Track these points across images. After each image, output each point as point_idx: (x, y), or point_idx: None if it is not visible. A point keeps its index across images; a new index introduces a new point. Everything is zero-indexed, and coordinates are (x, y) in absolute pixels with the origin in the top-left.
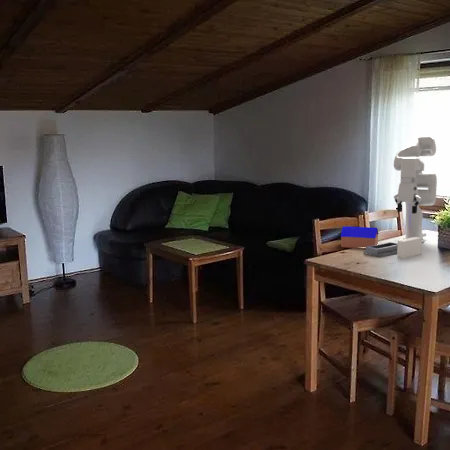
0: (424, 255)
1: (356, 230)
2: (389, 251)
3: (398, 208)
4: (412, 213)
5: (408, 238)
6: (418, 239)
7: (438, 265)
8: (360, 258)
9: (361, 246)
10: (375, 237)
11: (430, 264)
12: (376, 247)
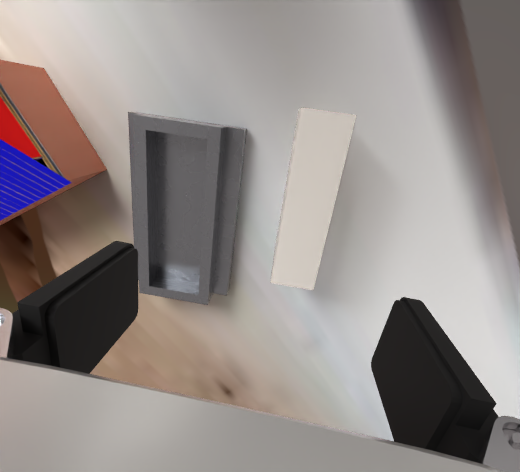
0: (367, 141)
1: None
2: (220, 227)
3: (107, 348)
4: (377, 360)
5: (289, 193)
6: (345, 154)
7: (489, 280)
8: (189, 340)
9: (52, 196)
10: (66, 179)
11: (452, 283)
12: (152, 237)
